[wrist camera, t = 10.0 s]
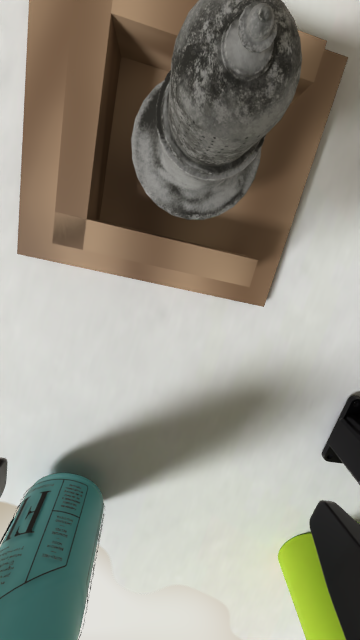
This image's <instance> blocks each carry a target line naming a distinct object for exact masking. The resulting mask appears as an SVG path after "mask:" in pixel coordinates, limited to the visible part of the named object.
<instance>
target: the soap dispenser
mask: <svg viewBox="0 0 360 640" xmlns="http://www.w3.org/2000/svg"><path fill="white" fill-rule="evenodd" d="M278 560H279V563H280V566H281V569H282V572H283V574H284V577H285V580H286V583H287V586H288V589H289V592H290V594H291V597H292V600H293V603H294V606H295V609H296V611H297V614H298V617H299V620H300V623H301V626H302V629H303V631H304V634H305V637H306V640H346V639H345V636H344V633H343V631H342V628H341V625H340V622H339V620H338V617H337V614H336V611H335V609H334V606H333V603H332V600H331V597H330V595H329V592H328V588H327V585H326V582H325V579H324V575H323V572H322V568H321V565H320V561H319V558H318V554H317V551H316V547H315V544H314V540H313V537H312V533H307V534H302V535H299V536H296V537H294V538H292V539H290V540H289V541H288V542H286V543H285V544H284V545H283V546H282V548H281V549H280V551H279V554H278Z"/></svg>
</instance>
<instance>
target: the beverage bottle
mask: <svg viewBox="0 0 360 640" xmlns="http://www.w3.org/2000/svg"><path fill="white" fill-rule="evenodd" d="M28 490H29V489H28ZM28 490H27V491H28ZM27 491H26V492H27ZM23 496H24V495H23ZM24 497H25V498H24ZM24 497H23V498H24V500H23V502H22V504H21V503H20V504H21V506H20V505H19V506H20V507H19V506H18V507H19V510H18V512H17V513H16V516H15V518H14V517H13V519H12V521H11V522H10V524H9V526H8V528H7V530H6V532H5V534H4V536H5V535H6V533H7V531H8V533H7V535H6V537H5V539H4V541H3V543H2V545H1V547H0V640H77V639H78V635H79V632H80V628H81V623H82V618H83V614H84V609H85V604H86V598H87V597H88V588H89V583H90V577H91V572H92V567H93V562H94V556H95V551H96V546H97V541H98V542H100V541H99V539H100V538H99V539H98V536H99V537H101V535H100V534H101V532H102V531H100V525H101V523H103V522H101V520H102V521H104V520H103V519H104V517H103V518H102V515H103V516H104V514H103V509H104V507H105V506H104V503H103V497H102V493H101V491H100V490H99V488H98V487H97V486H96V485H95V484H94V483H93V482H92V481H90V480H89V479H87V478H85V477H82V476H80V475H76V474H71V473H57V474H51V475H48V476H45V477H43V478H41V479H40V480H38V481H37V482H36V483H35V484H34V485H33V486H32V487H31V489H30V490H29V491H28V492H27V494H26V496H24ZM23 498H22V499H23ZM22 499H21V500H22ZM20 502H21V501H20ZM18 507H17V508H18ZM102 526H103V525H101V528H102ZM9 527H10V528H9ZM8 529H9V530H8ZM99 531H100V533H99ZM4 536H3V538H4ZM3 538H2V540H3ZM2 540H1V542H2ZM1 542H0V544H1ZM97 552H98V551H97ZM93 570H94V569H93ZM90 589H91V587H90ZM87 602H88V600H87Z"/></svg>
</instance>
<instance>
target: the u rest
mask: <svg viewBox="0 0 360 640" xmlns="http://www.w3.org/2000/svg"><path fill="white" fill-rule="evenodd" d="M198 1H199V0H29V16H28V37H27V58H26V80H25V101H24V122H23V143H22V164H21V186H20V207H19V228H18V249H17V254H21V255H25V256H30V257H35V258H39V259H44V260H49V261H53V262H58V263H62V264H67V265H72V266H76V267H81V268H86V269H90V270H95V271H100V272H104V273H109V274H114V275H118V276H123V277H128V278H132V279H137V280H142V281H146V282H151V283H156V284H160V285H165V286H170V287H174V288H179V289H184V290H188V291H193V292H198V293H202V294H207V295H212V296H216V297H221V298H226V299H230V300H235V301H239V302H244V303H249V304H253V305H258V306H263V307H264V305H265V302H266V299H267V296H268V293H269V290H270V287H271V284H272V281H273V278H274V275H275V272H276V269H277V266H278V263H279V260H280V258H281V255H282V252H283V249H284V246H285V243H286V240H287V237H288V234H289V231H290V228H291V225H292V222H293V219H294V216H295V213H296V210H297V207H298V204H299V201H300V198H301V195H302V193H303V190H304V187H305V184H306V181H307V178H308V175H309V172H310V169H311V166H312V163H313V160H314V157H315V154H316V151H317V148H318V145H319V142H320V139H321V136H322V133H323V130H324V128H325V125H326V122H327V119H328V116H329V113H330V110H331V107H332V104H333V101H334V98H335V95H336V92H337V89H338V86H339V83H340V80H341V77H342V74H343V71H344V68H345V65H346V63H347V60H348V57H346V56H343V55H340V54H337V53H334V52H332V51H329V50H326V49H325V46H326V42H327V41H326V40H323V39H321V38H318V37H315V36H312V35H310V34H307V33H304V32H301V31H299V30H298V33H299V36H300V41H301V51H302V65H301V73H300V80H299V83H298V86H297V89H296V92H295V95H294V97H293V99H292V101H291V103H290V105H289V107H288V108H287V110H286V112H285V114H284V115H283V117H282V119H281V120H280V121H279V122H278V123H277V124H276V125H275V126H274V127H273V128H272V129H271V130H270V131H269V132H268V133H267V134H266V136H265V139H264V143H263V145H262V147H261V156H260V163H259V166H258V170H257V173H256V176H255V179H254V181H253V183H252V184H251V186H250V188H249V189H248V191H247V193H246V194H245V196H244V197H243V198H242V199H241V200H240V201H239V202H238V203H237V204H236V205H235V206H234V207H232V208H231V209H229V210H227V211H226V212H224V213H222V214H221V215H219V216H216V217H212V218H208V219H205V220H187V219H184V218H180V217H177V216H173V215H171V214H170V213H168V212H166V211H165V210H163V209H162V208H160V207H158V206H157V204H156V203H155V202H154V201H153V200H152V199H151V198H150V197H149V196H148V195H147V194H146V192H145V190H144V188H143V187H142V185H141V183H140V181H139V179H138V178H137V174H136V171H135V167H134V164H133V160H132V144H131V138H132V133H133V127H134V122H135V118H136V116H137V114H138V112H139V109H140V107H141V105H142V103H143V101H144V100H145V98H146V97H147V96H148V95H149V94H150V92H151V91H152V90H153V89H154V87H155V86H156V85H158V84H159V83H161V82H162V81H164V80H165V77H166V75H167V74H168V73H169V71H170V70H171V61H172V55H173V50H174V46H175V41H176V38H177V36H178V34H179V31H180V29H181V27H182V25H183V23H184V21H185V19H186V17H187V15H188V13H189V11H190V10H191V9H192V8H193V7H194V5H195V4H196V3H197V2H198Z"/></svg>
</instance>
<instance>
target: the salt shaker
mask: <svg viewBox="0 0 360 640" xmlns="http://www.w3.org/2000/svg"><path fill="white" fill-rule="evenodd" d="M301 65H302V51H301V41H300V36H299V33H298V30H297V27H296V24H295V21H294V18H293V17H292V15H291V14H290V12H289V11H288V9H287V7H286V6H285V4H284V3H283V2H282V1H281V0H199V1H198V2H197V3H196V4H195V5H194V7H193V8H192V9H191V10H190V11H189V13H188V15H187V17H186V19H185V21H184V23H183V25H182V27H181V29H180V31H179V34H178V36H177V38H176V41H175V46H174V50H173V55H172V61H171V70H170V71H169V73H168V74H167V75H166V77H165V80H164V81H162V82H161V83H159V84H158V85H156V86H155V87H154V89H153V90H152V91H151V92H150V94H149V95H148V96H147V97H146V98H145V100H144V101H143V103H142V105H141V107H140V109H139V112H138V114H137V116H136V118H135V122H134V127H133V133H132V138H131V144H132V160H133V164H134V167H135V171H136V174H137V178H138V179H139V181H140V183H141V185H142V187H143V188H144V190H145V192H146V194H147V195H148V196H149V197H150V198H151V199H152V200H153V201H154V202H155V203H156V204H157V206H158V207H160V208H162V209H163V210H165V211H166V212H168V213H170V214H171V215H173V216H177V217H180V218H184V219H187V220H205V219H208V218H212V217H216V216H219V215H221V214H222V213H224V212H226V211H227V210H229V209H231V208H232V207H234V206H235V205H236V204H237V203H238V202H239V201H240V200H241V199H242V198H243V197H244V196H245V194H246V193H247V191H248V189H249V188H250V186H251V184H252V183H253V181H254V179H255V176H256V173H257V170H258V166H259V163H260V156H261V147H262V145H263V143H264V139H265V136H266V134H267V133H268V132H269V131H270V130H271V129H272V128H273V127H274V126H275V125H276V124H277V123H278V122H279V121H280V120H281V119H282V117H283V115H284V114H285V112H286V110H287V108H288V107H289V105H290V103H291V101H292V99H293V97H294V95H295V92H296V89H297V86H298V83H299V80H300V73H301Z"/></svg>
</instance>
